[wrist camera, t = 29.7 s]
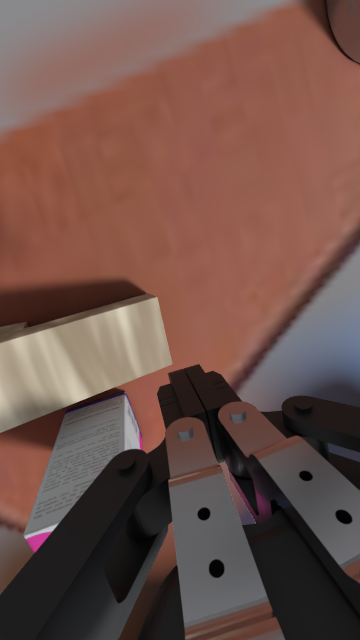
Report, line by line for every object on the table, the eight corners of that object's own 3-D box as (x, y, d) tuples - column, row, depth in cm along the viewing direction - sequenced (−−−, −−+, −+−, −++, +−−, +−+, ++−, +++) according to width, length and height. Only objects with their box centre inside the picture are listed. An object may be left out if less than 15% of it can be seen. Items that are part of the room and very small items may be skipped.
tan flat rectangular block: (157, 296, 22) (-74, 364, 16) (172, 364, 23) (-31, 445, 18) (147, 293, 24) (-60, 352, 18) (162, 355, 26) (-23, 425, 20)
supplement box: (62, 410, 25) (18, 536, 14) (125, 389, 26) (130, 493, 15) (84, 459, 27) (60, 605, 16) (143, 438, 27) (158, 563, 17)
